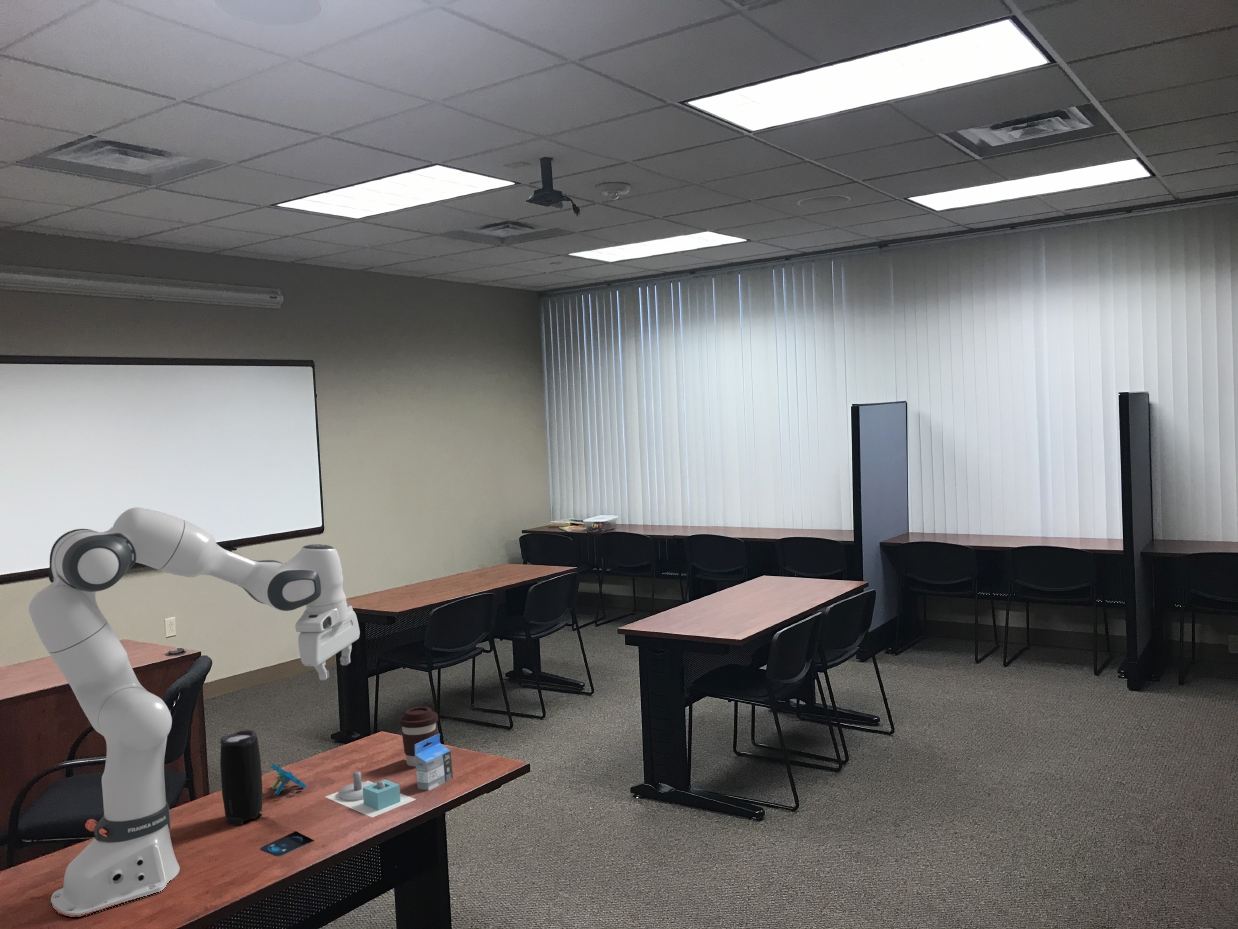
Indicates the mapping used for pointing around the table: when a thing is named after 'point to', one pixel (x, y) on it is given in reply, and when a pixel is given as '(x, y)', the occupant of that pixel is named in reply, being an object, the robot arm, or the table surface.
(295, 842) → the smartphone
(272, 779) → the table surface
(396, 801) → the teal box with opening
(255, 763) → the portable speaker
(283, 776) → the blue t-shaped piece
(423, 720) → the coffee cup
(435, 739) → the label tape box
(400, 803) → the stand board
